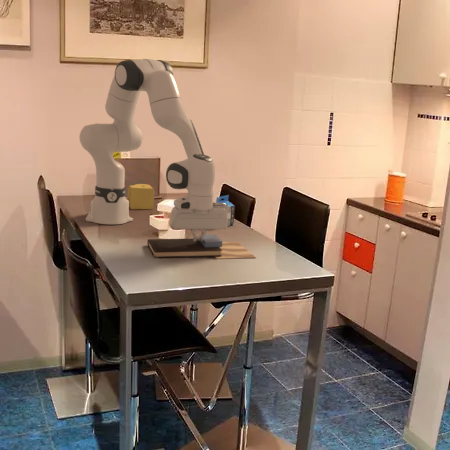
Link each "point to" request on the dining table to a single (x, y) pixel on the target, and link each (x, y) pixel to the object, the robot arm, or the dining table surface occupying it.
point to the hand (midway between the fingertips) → (197, 241)
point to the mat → (234, 251)
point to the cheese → (140, 196)
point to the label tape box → (231, 209)
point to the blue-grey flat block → (211, 241)
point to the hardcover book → (181, 248)
